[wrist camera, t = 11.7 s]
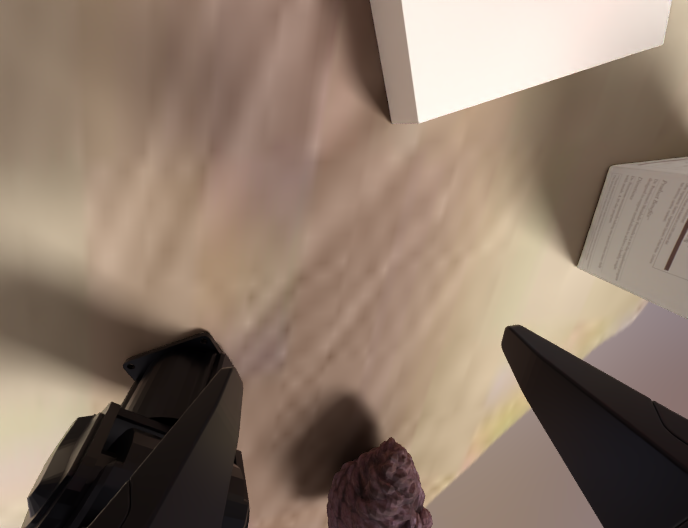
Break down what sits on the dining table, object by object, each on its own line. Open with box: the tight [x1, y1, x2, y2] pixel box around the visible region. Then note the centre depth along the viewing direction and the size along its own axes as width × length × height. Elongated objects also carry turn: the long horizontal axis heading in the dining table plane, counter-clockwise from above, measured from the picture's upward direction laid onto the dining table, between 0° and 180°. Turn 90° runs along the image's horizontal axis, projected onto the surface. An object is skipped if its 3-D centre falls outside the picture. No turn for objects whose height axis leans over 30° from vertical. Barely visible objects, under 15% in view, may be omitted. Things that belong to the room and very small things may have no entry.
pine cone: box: [327, 437, 433, 528], centre depth 28 cm, size 18×10×10 cm, turn 168°
